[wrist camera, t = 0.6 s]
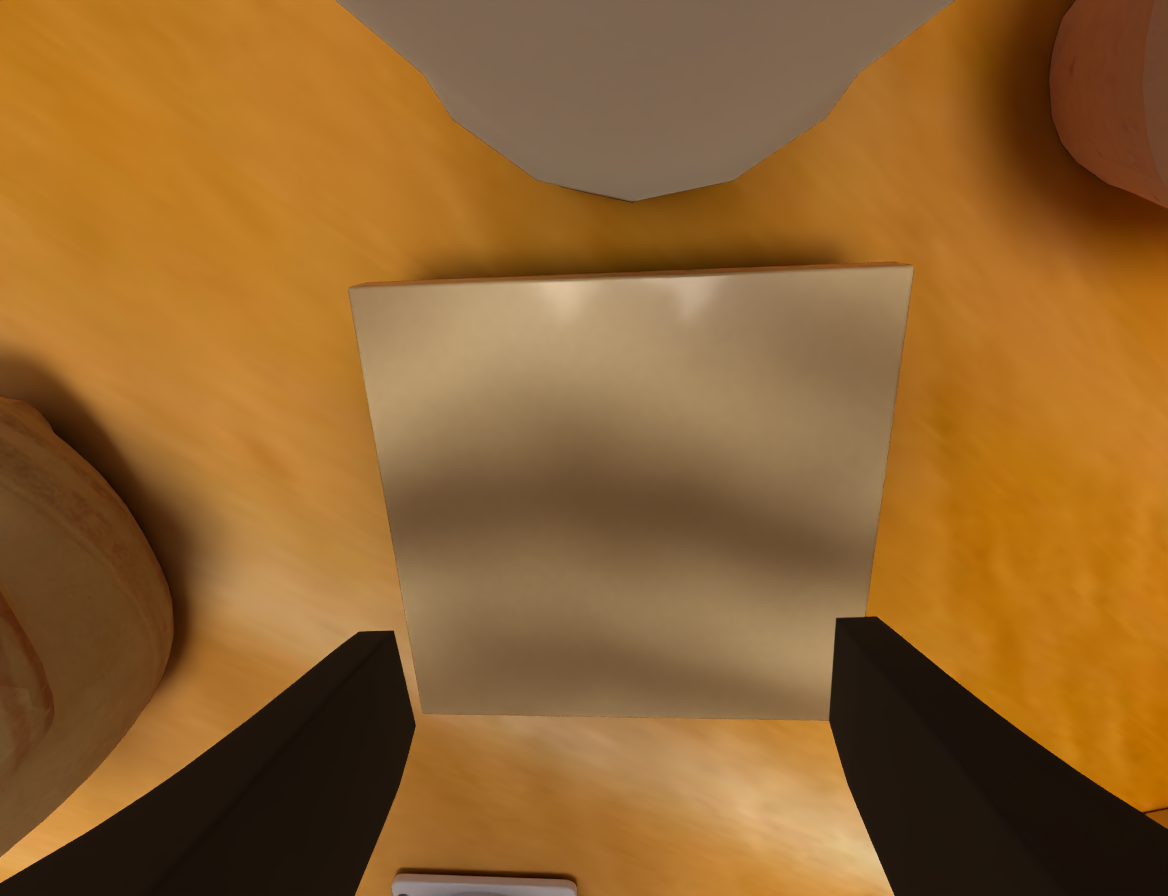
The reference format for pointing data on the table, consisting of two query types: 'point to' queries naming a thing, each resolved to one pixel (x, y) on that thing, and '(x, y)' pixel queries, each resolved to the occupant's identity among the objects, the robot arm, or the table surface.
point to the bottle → (640, 78)
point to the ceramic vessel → (68, 620)
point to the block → (1159, 817)
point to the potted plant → (1114, 92)
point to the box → (633, 482)
